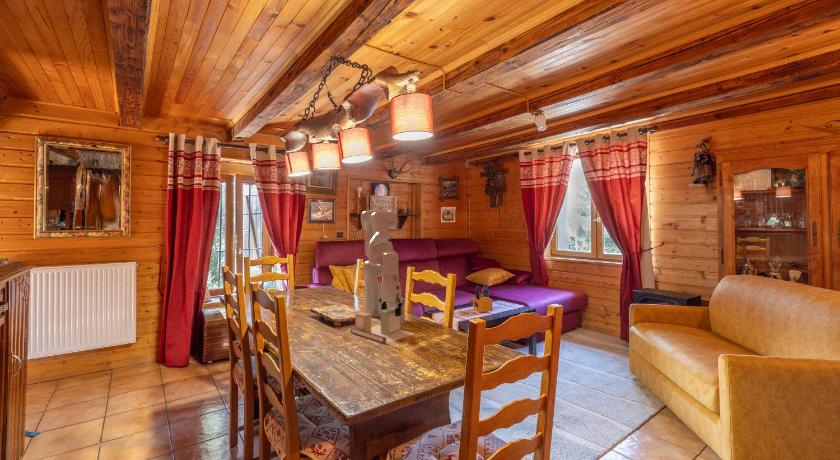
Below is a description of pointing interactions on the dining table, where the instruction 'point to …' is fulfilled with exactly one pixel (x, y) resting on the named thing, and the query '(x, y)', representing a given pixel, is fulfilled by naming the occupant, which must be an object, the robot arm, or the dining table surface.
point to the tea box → (390, 322)
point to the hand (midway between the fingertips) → (391, 314)
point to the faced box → (363, 321)
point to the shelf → (378, 336)
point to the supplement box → (391, 305)
